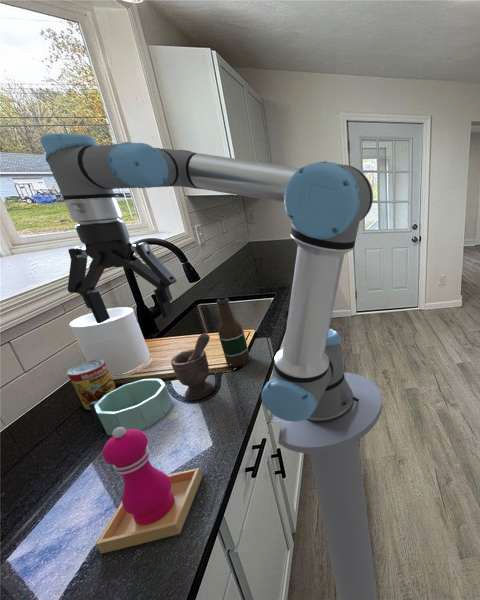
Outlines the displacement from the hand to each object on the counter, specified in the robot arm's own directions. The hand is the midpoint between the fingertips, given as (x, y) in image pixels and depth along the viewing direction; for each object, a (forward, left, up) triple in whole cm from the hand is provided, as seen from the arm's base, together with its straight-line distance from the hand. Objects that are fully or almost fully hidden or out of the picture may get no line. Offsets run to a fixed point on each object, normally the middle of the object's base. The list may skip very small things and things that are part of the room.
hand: (136, 318), depth 70 cm
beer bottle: (-8, -31, -32) cm, 45 cm away
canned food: (+28, -20, -32) cm, 47 cm away
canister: (+32, -40, -32) cm, 60 cm away
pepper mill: (-5, +24, -31) cm, 40 cm away
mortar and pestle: (-2, -15, -32) cm, 35 cm away
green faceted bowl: (+14, -9, -32) cm, 36 cm away
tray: (-5, +24, -32) cm, 40 cm away
